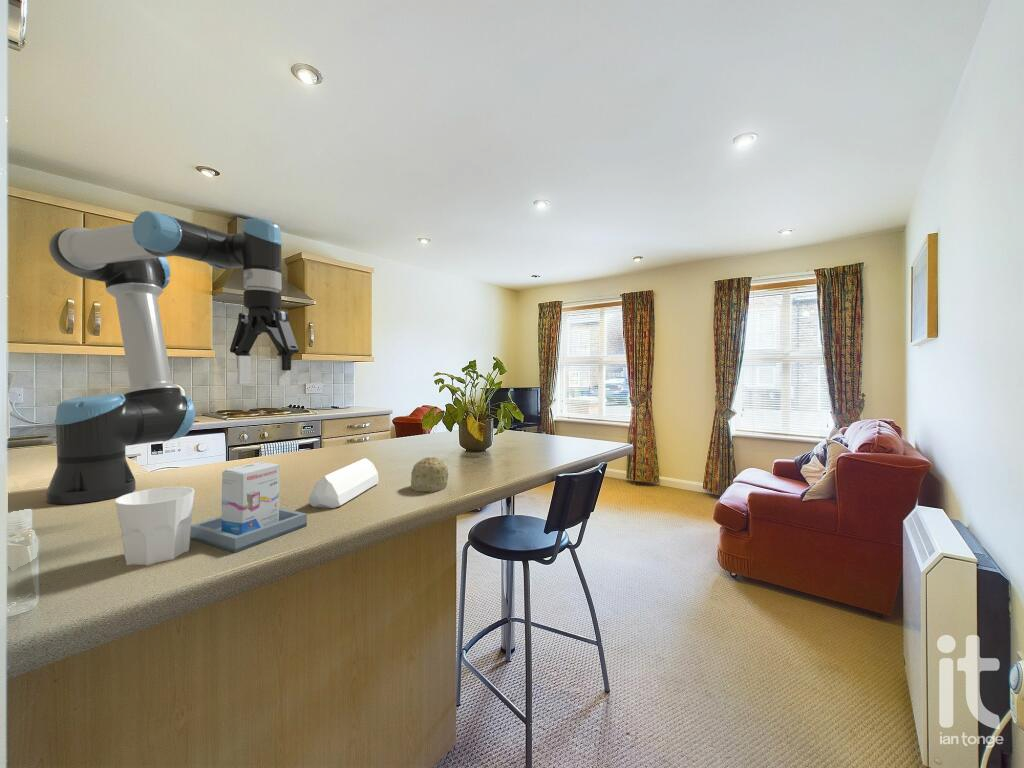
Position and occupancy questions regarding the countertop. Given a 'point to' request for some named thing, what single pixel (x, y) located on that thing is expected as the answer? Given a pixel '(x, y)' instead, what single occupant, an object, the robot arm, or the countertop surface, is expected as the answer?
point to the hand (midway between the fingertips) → (263, 384)
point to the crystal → (344, 484)
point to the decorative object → (429, 475)
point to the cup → (155, 523)
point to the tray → (214, 536)
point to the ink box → (250, 497)
